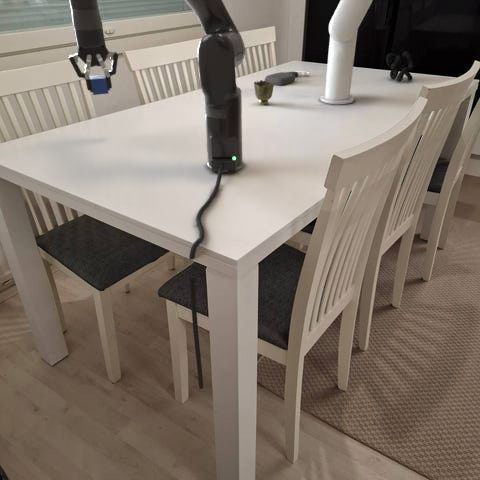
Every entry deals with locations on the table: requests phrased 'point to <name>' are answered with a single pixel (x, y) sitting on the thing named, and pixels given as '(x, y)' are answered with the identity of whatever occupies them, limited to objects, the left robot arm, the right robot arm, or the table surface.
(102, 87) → the brick
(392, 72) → the squiggle
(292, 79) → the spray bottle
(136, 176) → the table surface
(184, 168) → the table surface
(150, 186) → the table surface
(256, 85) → the cup
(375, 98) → the table surface
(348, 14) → the right robot arm
